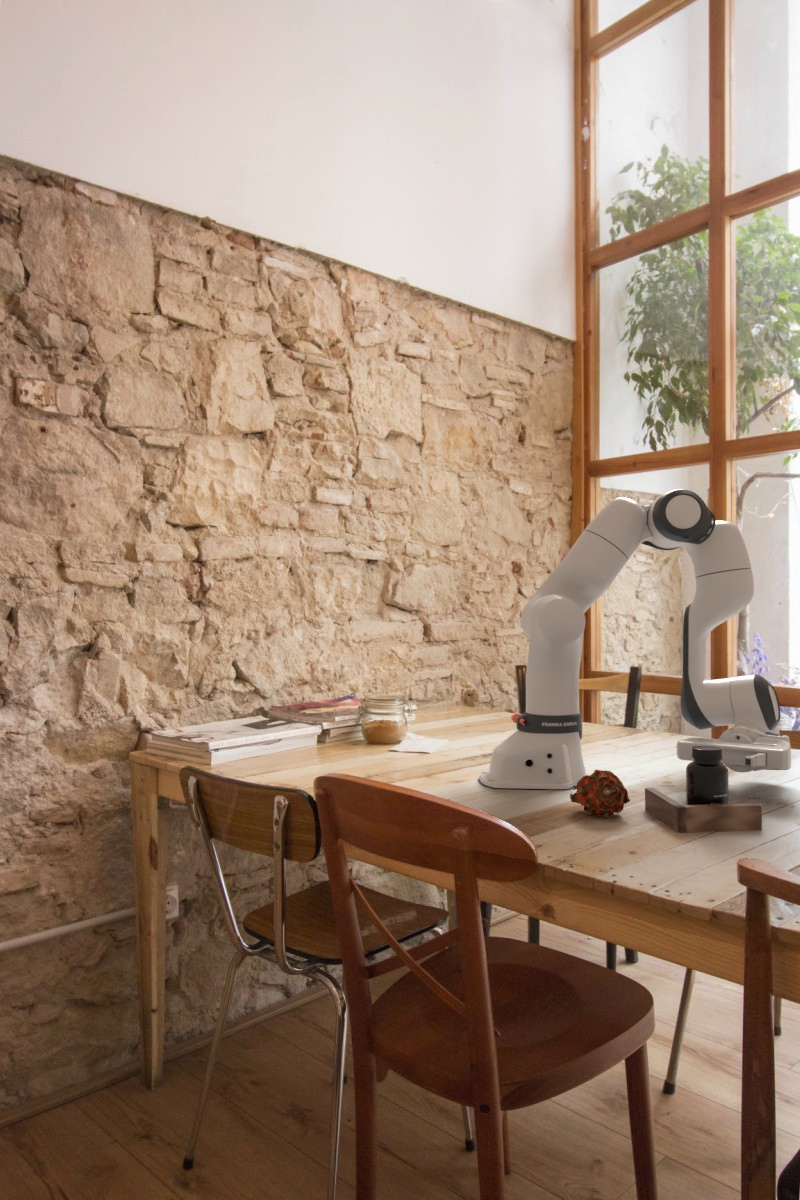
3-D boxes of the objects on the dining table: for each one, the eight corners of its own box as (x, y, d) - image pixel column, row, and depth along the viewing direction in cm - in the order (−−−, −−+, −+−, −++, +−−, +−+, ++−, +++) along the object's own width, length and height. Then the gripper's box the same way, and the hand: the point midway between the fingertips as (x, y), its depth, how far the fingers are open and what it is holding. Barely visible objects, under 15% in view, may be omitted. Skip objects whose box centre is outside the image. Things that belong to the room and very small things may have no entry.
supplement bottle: (724, 825, 141) (723, 752, 141) (682, 820, 144) (681, 749, 144) (732, 816, 147) (731, 746, 147) (691, 811, 150) (690, 743, 150)
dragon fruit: (621, 833, 144) (579, 827, 155) (650, 798, 148) (607, 795, 158) (592, 794, 143) (552, 791, 154) (622, 760, 147) (581, 759, 157)
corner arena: (677, 832, 138) (677, 807, 138) (645, 810, 153) (644, 787, 153) (761, 830, 139) (761, 805, 139) (721, 808, 154) (721, 785, 154)
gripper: (688, 728, 173) (665, 737, 162) (798, 736, 161) (781, 746, 150) (688, 759, 173) (665, 770, 162) (798, 770, 161) (781, 783, 150)
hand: (722, 759), depth 156 cm, fingers open, 8 cm apart
